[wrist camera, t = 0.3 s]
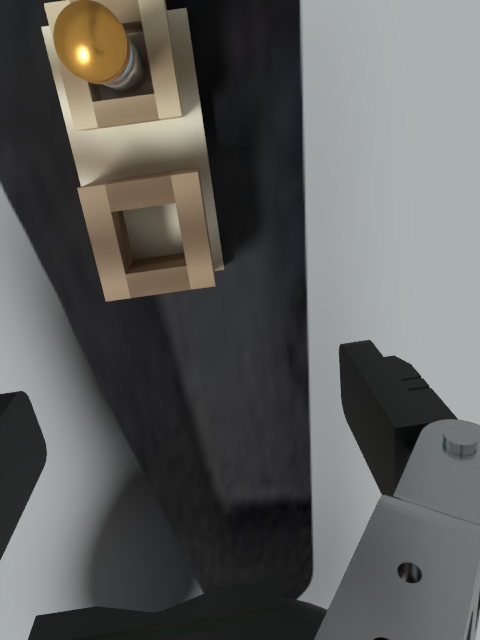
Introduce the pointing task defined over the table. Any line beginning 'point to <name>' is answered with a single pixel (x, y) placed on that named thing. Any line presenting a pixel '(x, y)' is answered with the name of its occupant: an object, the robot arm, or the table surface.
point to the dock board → (143, 159)
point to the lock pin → (98, 47)
